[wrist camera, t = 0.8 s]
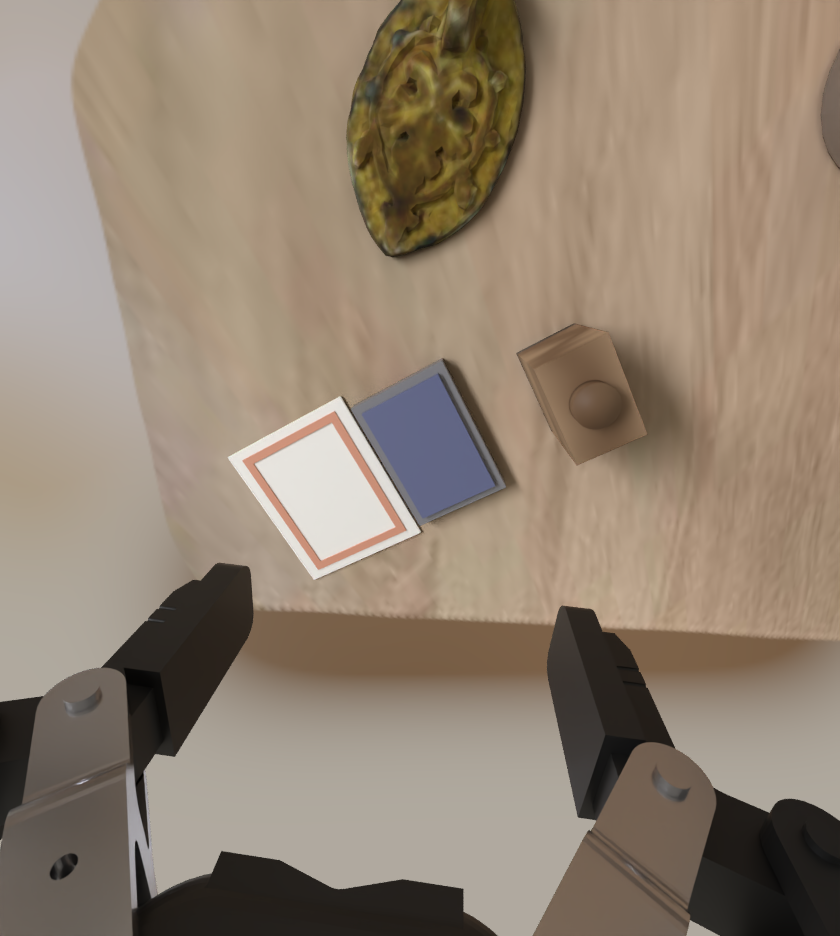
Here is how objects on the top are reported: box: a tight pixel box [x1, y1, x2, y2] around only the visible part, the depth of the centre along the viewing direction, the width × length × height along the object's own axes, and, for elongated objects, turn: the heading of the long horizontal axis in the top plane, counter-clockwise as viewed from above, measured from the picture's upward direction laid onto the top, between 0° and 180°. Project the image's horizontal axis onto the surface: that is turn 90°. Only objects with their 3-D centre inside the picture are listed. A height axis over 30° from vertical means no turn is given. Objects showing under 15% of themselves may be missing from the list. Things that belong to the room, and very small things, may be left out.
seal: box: [346, 0, 526, 257], centre depth 25 cm, size 9×5×15 cm
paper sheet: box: [228, 396, 421, 580], centre depth 35 cm, size 10×12×1 cm
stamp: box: [516, 324, 647, 465], centre depth 27 cm, size 4×6×8 cm, turn 28°
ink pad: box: [351, 359, 506, 526], centre depth 32 cm, size 7×10×2 cm
